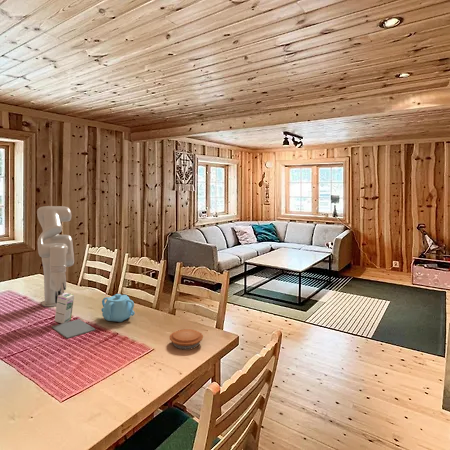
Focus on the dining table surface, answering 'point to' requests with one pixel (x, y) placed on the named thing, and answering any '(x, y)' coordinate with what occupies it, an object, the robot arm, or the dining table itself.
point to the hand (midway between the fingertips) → (58, 302)
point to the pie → (186, 338)
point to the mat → (73, 328)
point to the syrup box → (64, 307)
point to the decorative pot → (117, 308)
